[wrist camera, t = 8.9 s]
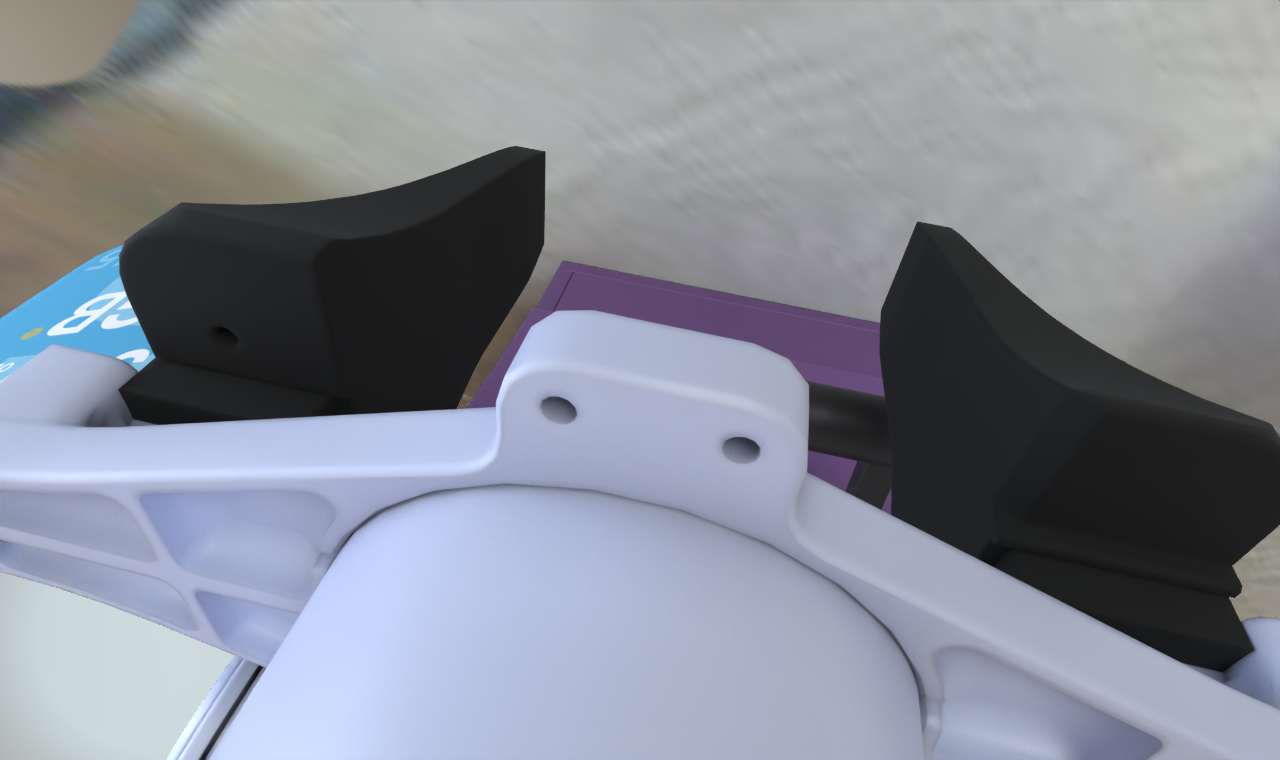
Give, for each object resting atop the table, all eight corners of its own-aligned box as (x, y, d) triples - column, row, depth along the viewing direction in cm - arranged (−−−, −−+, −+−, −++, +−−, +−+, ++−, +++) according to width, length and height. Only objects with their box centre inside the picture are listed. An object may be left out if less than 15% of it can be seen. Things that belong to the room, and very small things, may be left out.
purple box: (905, 494, 30) (911, 554, 27) (557, 418, 31) (535, 470, 29) (987, 343, 24) (1003, 403, 22) (562, 259, 26) (535, 307, 23)
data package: (343, 202, 26) (89, 427, 17) (398, 304, 29) (204, 544, 20) (111, 243, 30) (-197, 445, 21) (179, 330, 32) (-68, 541, 24)
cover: (1097, 665, 15) (1222, 520, 12) (412, 505, 16) (397, 345, 14) (1002, 415, 22) (1068, 291, 19) (532, 319, 23) (537, 191, 21)
